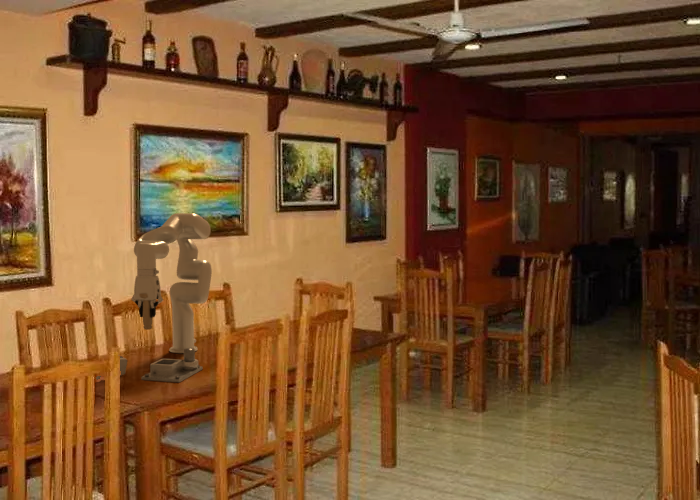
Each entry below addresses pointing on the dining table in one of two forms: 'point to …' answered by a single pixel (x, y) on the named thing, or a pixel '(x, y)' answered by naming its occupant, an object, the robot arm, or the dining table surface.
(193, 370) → the fitting
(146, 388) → the dining table surface
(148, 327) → the handle
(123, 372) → the hinge
